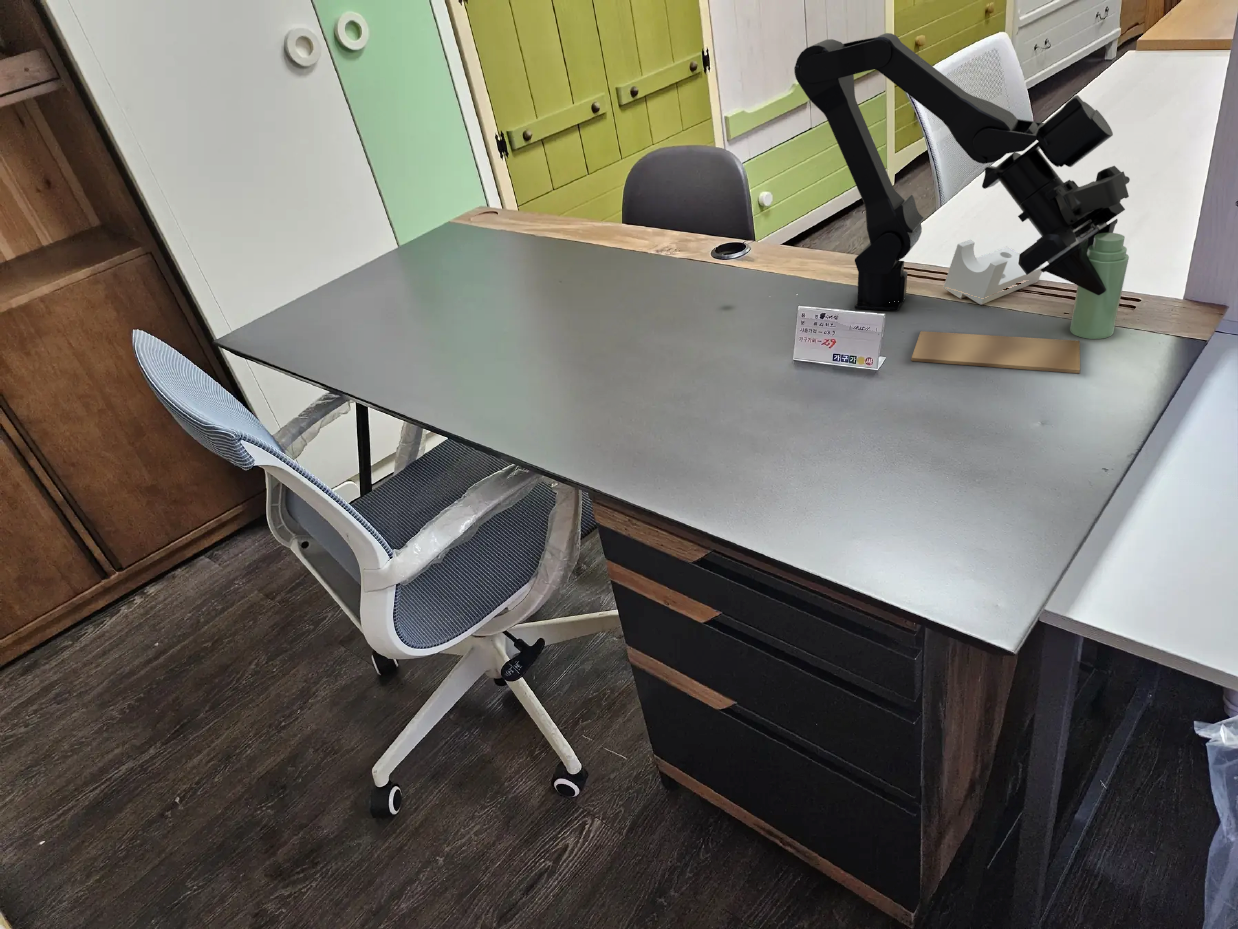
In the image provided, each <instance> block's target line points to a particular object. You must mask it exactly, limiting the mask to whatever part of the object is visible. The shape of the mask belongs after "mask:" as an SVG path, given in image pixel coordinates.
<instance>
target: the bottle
mask: <svg viewBox="0 0 1238 929" xmlns="http://www.w3.org/2000/svg"><path fill="white" fill-rule="evenodd" d="M1125 239H1126V238H1125V235H1124V234H1121V233H1117V232H1113V233H1100V234H1097V235H1095V237H1094V242H1093V245H1091V246H1089V247H1088V251H1087V256H1088V258H1089V260H1090V261H1091V263H1092V265H1093V267H1094V268H1095V270H1096V272H1097V273H1098V275H1099V277H1100V278H1101V280H1102V282H1103V284H1104V286H1105V288H1106V291H1105V292H1104V293H1102V294H1101V295H1096V294H1094V293H1092V292H1090V291H1088V290H1086V289H1084V288H1082V287H1080V286H1078V285H1077V286H1076V287H1077V288H1076V293H1075V299H1074V303H1073V304H1074V305H1073V310H1072V316H1071V322H1070V327H1069V331H1070V333H1071V334H1072V335H1074V336H1076V337H1080V338H1082V339H1088V340H1089V339H1090V340H1100V339H1101V340H1102V339H1106V338H1109V337H1111V336H1112V335H1113V334H1114V331H1115V326H1116V322H1117V317H1118V311H1119V308H1120V302H1121V297H1122V292H1123V288H1124V283H1125V279H1126V273H1127V268H1128V264H1129V261H1130V260H1129V259H1130V256H1129V255H1128V254H1127V252H1128V248H1127V247H1126V246H1124V244H1125Z"/></svg>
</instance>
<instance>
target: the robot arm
mask: <svg viewBox="0 0 1238 929" xmlns="http://www.w3.org/2000/svg"><path fill="white" fill-rule="evenodd" d="M873 70H875V71H877V72H879V73H880V74H882V76H884V77H885V78H886V79H888V80H889V81H890V82H892V83H893V84H894V85H895V86H897V87H898V88H900V89H901V90H902V91H903V92H905V93H906V94H907V95H908V96H910V97H911V98H912V99H913V100H914V101H916V102H917V103H919V104H920V105H921V106H922V107H924V108H925V109H926V110H928V111H929V112H930V113H931V114H932V115H934V116H935V117H936V118H938V119H939V120H940V121H941V122H942V123H943V124H944V125H945V126H946V127H947V129H948V130H949V132H950V134H951V135H952V137H953V139H954V140H955V142H956V143H957V144H958V145H959V146H960V148H961V149H962V150H963V151H964V152H965V153H966V154H967V155H968V157H969V158H971V160H972V161H975V162H976V163H978V164H983V165H984V164H992V163H995V162H997V161H1000V160H1002V159H1003V158H1004V157H1005V156H1006V155H1007V154H1010V155H1009V156H1008V157H1006V158H1005V159H1004V160H1002V161H1001V162H1000V163H999V164H998V165H997V166H994V165H990V166H986V167H985V168H984V178H983V181H982V184H981V188H982V189H983V190H984V189H989V188H991V187H994V186H996V185H997V184H998V183H1001V185H1002V186H1003V188H1004V189H1005V190H1006V191H1007V193H1008V194H1009V196H1010V198H1012V199H1013V201H1014V202H1015V203H1016V205H1017V206H1018V207H1019V209H1020V210H1021V211H1022V212H1021V213H1020V214H1018V215H1017V217H1018V219H1019V220H1020V221H1021V223H1024V222H1026V221H1027V220H1029V222H1030V224H1032V226H1033V227H1034V229H1035V230H1036V231H1037V232H1038V234H1039V235H1040V237H1039V238H1038V239H1037V240H1036V242H1034V243H1033V244H1031V245H1030V246H1028V247H1027V248H1026V249H1024V250H1023V251H1022V252H1020V255H1019V263H1018V264H1019V265H1020V267H1021V268H1022V269H1023V271H1024V272H1025V273H1026V275H1028V274H1029V273H1031V272H1033V271H1034V270H1036V269H1037V268H1039V267H1040V266H1041V265H1042V266H1043V265H1044V264H1045V263H1048V264H1047V265H1045V266H1043V267H1044V268H1043V269H1041V271H1042V273H1048V274H1050V275H1053V276H1056V277H1058V278H1061V279H1063V280H1065V281H1067V282H1069V283H1072V284H1074V285H1076V286H1077V287H1078V286H1080V287H1082V288H1084V289H1086V290H1088V291H1090V292H1092V293H1094V294H1096V295H1101V294H1102V293H1104V292H1105V291H1106V288H1105V286H1104V284H1103V282H1102V280H1101V278H1100V277H1099V275H1098V273H1097V272H1096V270H1095V268H1094V267H1093V265H1092V263H1091V261H1090V260H1089V258H1088V256H1087V251H1088V247H1089V246H1091V245H1093V242H1094V237H1095V235H1097V234H1100V233H1114V231H1115V227H1116V225H1117V224H1118V218H1116V217H1117V216H1119V215H1120V214H1121V213H1123V212H1124V211H1126V208H1125V206H1123V204H1122V203H1121V201H1122V200H1123V199H1128V198H1129V197H1130V195H1129V191H1128V188H1127V184H1129V183H1130V182H1131V179H1130V177H1129V176H1126V174H1125V171H1124V170H1123V171H1121V170H1120V169H1119V168H1118V167H1116V166H1115V165H1112V166H1109V167H1107V168H1104V169H1101V170H1100V171H1098V172H1097V174H1096V178H1095V180H1092V181H1091V182H1089V183H1086V184H1084V185H1080V186H1079V185H1078V184H1077V183H1076V182H1075V180H1071V179H1068V180H1065V181H1063V179H1062V178H1061V177H1060V175H1058V173H1057V172H1056V171H1055V169H1054V168H1053V167H1052V166H1055V167H1056V168H1059V167H1060V168H1062V167H1064V166H1066V167H1068V168H1072V167H1073V166H1075V165H1076V164H1078V163H1079V162H1080V161H1081V160H1082V159H1084V158H1085V157H1086V156H1088V155H1089V154H1090V153H1092V152H1094V150H1096V149H1097V148H1099V147H1100V146H1101V145H1102V144H1103V143H1105V142H1106V141H1108V140H1109V139H1110V138H1111V137H1113V136H1114V133H1113V130H1112V128H1111V126H1110V125H1109V123H1108V121H1107V120H1106V119H1105V117H1104V116H1103V115H1102V113H1101V112H1100V111H1099V110H1098V109H1094V108H1093V107H1092V106H1091V105H1090V104H1089V103H1087V102H1086V101H1084V100H1083V99H1082V98H1081V97H1080V96H1079V95H1077V94H1075V95H1074V96H1072V97H1071V98H1070V99H1069V100H1068V101H1066V103H1065V104H1064V105H1063V107H1062V108H1060V109H1059V110H1058V111H1057V112H1056V113H1055V114H1053V115H1052V116H1050V118H1049V119H1047V120H1046V121H1045V122H1041V121H1033V120H1027V119H1020V118H1017V117H1016V116H1015V114H1014V113H1013V112H1011V111H1009V110H1007V109H1005V108H1004V107H1001V106H999V105H998V104H995V103H993V102H992V101H989V100H986V99H983V98H980V97H977V96H975V95H972V94H971V93H969V92H966V91H965V90H964V89H962V88H961V87H960V86H958V84H956V83H955V82H953V81H952V80H951V79H949V78H948V77H947V76H946V75H945V74H943V73H942V72H940V71H939V70H938V69H936V68H935V67H934V66H932V65H931V64H930V63H929V62H927V61H926V60H925V59H923V57H921V56H919V54H917V53H916V52H915V51H913V50H912V49H910V48H909V47H908V46H907V45H906V44H904V43H903V42H902V41H901V39H900V38H899V36H897V35H895V34H893V33H891V32H889V33H888V32H885V33H883V34H880V35H878V36H874V37H870V38H865V39H858V40H853V41H849V42H844V43H843V42H842V41H839V40H835V39H832V38H831V39H824V40H822V41H820V42H817V43H814V44H813V45H810V46H808V47H806V48H804V50H802V51H801V52H800V54H799V55H798V57H797V59H796V62H795V65H794V69H793V71H794V76H795V80H796V81H797V83H798V85H799V86H800V88H801V89H802V91H803V92H804V94H805V95H806V97H807V98H808V100H809V101H810V102H811V103H813V105H814V106H815V107H816V108H817V109H818V110H819V111H820V112H821V113H822V114H823V115H824V116H825V118H826V120H827V122H828V125H829V127H830V129H831V132H832V134H833V136H834V138H835V141H836V143H837V145H838V147H839V150H840V152H841V154H842V157H843V159H844V161H845V163H846V166H847V168H848V170H849V173H850V175H851V177H852V180H853V183H854V184H855V186H856V188H857V191H858V193H859V195H860V198H861V200H862V202H863V205H864V208H865V222H866V224H865V225H866V232H867V235H868V236H867V237H868V239H869V243H867V245H866V246H865V247H864V248H863V249H862V250H861V251H860V253H859V254H858V255H856V257H855V258H854V263H855V266H856V269H857V272H858V273H857V298H856V302H855V303H854V309H856V310H857V309H858V310H875V311H877V310H878V311H893V312H894V311H898V310H899V309H900V306H901V305H902V304H903V303H904V302H905V299H906V297H907V286H908V271H906V270H905V260H902V259H904V258H905V257H906V256H907V255H908V254H909V253H910V251H911V250H912V249H913V247H915V245H916V244H917V243H918V241H919V239H920V237H921V235H922V232H923V231H922V230H923V227H922V222H923V221H924V219H925V218H924V216H922V215H921V214H920V212H919V210H918V208H917V203H916V199H915V197H914V195H913V194H910V195H908V196H907V197H905V198H904V197H902V196H901V195H900V194H899V193H898V192H897V190H896V189H895V188H894V186H893V183H892V181H891V179H890V176H889V174H888V172H887V169H886V167H885V165H884V162H883V160H882V158H881V155H880V153H879V151H878V148H877V145H876V144H875V141H874V139H873V137H872V134H871V131H870V129H869V128H868V125H867V123H866V121H865V118H864V116H863V113H862V111H861V109H860V106H859V104H858V102H857V99H856V92H855V91H856V90H855V75H857V74H861V73H865V72H869V71H873ZM1035 142H1036V143H1035ZM1033 144H1034V145H1033ZM1031 145H1032V146H1031ZM1029 147H1030V148H1029ZM1025 150H1026V151H1025ZM1023 151H1024V152H1023ZM1020 152H1023V153H1022V154H1021V153H1020ZM1044 156H1045V157H1044ZM1048 161H1049V162H1050V163H1051V164H1052V165H1051V164H1050V163H1049V162H1048ZM1114 218H1116V219H1114ZM1113 219H1114V220H1113ZM1111 220H1112V221H1111ZM1110 221H1111V222H1110ZM1108 222H1109V223H1108ZM904 270H905V271H904ZM904 298H905V299H904ZM903 300H904V301H903ZM894 301H895V302H894ZM898 301H899V302H898ZM889 302H890V303H889Z"/></svg>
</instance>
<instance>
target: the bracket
mask: <svg viewBox="0 0 1238 929" xmlns="http://www.w3.org/2000/svg"><path fill="white" fill-rule="evenodd" d="M974 247H975V241H973V240H971V239H967V240H965V241H962V242H960V243H957V245H956V247H955V250H954V254H953V257H952V260H951V263H950V265H949V268H948V272H947V275H946V277H945V281H944V284H943V286H944V287H949V288H951V289H956V290H958V291H962V292H964V293H968V294H970V295H968V294H964V293H961V292H958V291H954V290H951V289H947V288H944V287H943V289H944V290H946V291H947V292H949V293H950V294H952V295H954V296H955V297H957V298H958V299H960V300H961V299H964V298H966V297H967V298H968V299H970V300H972V301H973V302H975V303H977V304H979V305H980V306H981V305H985V304H987V303H989V302H991V301H995V300H996V299H999V298H1001V297H1004V296H1006V295H1008V294H1011V293H1014V292H1016V291H1018V290H1021V289H1024V288H1026V287H1028V286H1031V285H1033V284H1036V283H1038V282H1039V281H1040V278H1041V275H1042V273H1043V272H1042V271H1041V269H1043V268H1044V267H1045V266H1044V265H1043V264H1042V265H1041V266H1040V267H1039V268H1037V269H1036V270H1034V271H1033V272H1031V273H1029V274H1028V275H1026V273H1025V272H1024V271H1023V269H1022V268H1021V267H1020V265H1019V264H1018V263H1019V255H1020V254H1021V252H1019V251H1017V250H1015V249H1012V248H1011V247H1010V246H1008V245H1006V246H1003V247H1001V248H998V249H996V250H993V251H990V252H988V253H986V254H985V253H984V254H983V255H980V256H977V257H976V255H975V249H974ZM1023 280H1029V281H1026V282H1024V283H1021V284H1019V285H1017V286H1014V287H1012V288H1009V289H1007V290H1004V291H1002V290H1003V289H1006V288H1008V287H1010V286H1012V285H1015V284H1016V283H1018V282H1021V281H1023ZM998 291H1002V292H999V293H997V292H998ZM994 293H997V294H994ZM992 294H994V295H992ZM971 295H973V296H971ZM990 295H992V296H990ZM974 296H977V297H974ZM987 296H989V297H987ZM978 297H980V298H978ZM985 297H987V298H985ZM981 298H984V299H981Z"/></svg>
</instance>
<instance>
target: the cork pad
mask: <svg viewBox="0 0 1238 929" xmlns="http://www.w3.org/2000/svg"><path fill="white" fill-rule="evenodd" d="M1080 343H1081V342H1080V340H1077V339H1076V340H1072V339H1057V338H1041V337H1040V338H1039V337H1025V336H1024V337H1023V336H1008V335H991V334H990V335H989V334H975V333H974V334H973V333H959V332H958V333H956V332H943V331H942V332H940V331H925V330H921V331H919V335H918V338H917V341H916V343H915V346H914V350H913V353H912V355H911V360H910V362H920V363H921V362H922V363H931V364H932V363H934V364H946V365H947V364H948V365H960V366H961V365H962V366H973V367H974V366H975V367H985V368H986V367H987V368H1000V369H1001V368H1002V369H1015V370H1027V371H1041V372H1042V371H1043V372H1055V373H1068V374H1080V372H1081V348H1080V347H1081V345H1080Z"/></svg>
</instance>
